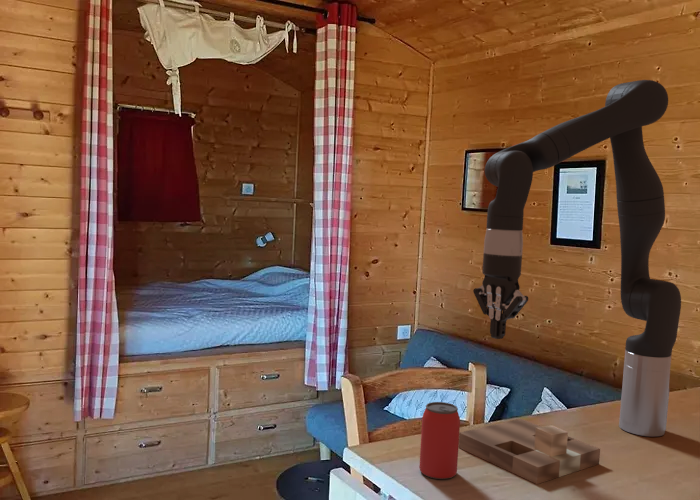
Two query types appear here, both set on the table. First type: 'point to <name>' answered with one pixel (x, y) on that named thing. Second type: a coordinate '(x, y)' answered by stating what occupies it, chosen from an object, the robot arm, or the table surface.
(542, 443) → the maple block
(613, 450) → the table surface
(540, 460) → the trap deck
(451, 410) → the beer can
